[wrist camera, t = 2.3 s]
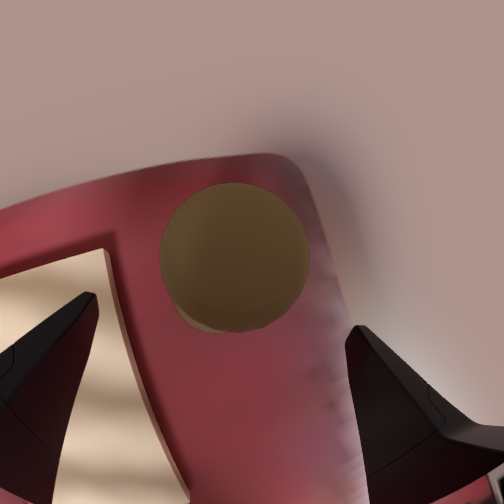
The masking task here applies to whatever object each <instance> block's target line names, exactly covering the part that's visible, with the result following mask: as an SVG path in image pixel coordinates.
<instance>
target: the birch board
mask: <svg viewBox="0 0 504 504" xmlns="http://www.w3.org/2000/svg"><path fill="white" fill-rule="evenodd" d="M85 291H88V292H92V293H95V294H96V295H97V300H98V306H99V319H98V323H97V327H96V331H95V335H94V339H93V343H92V347H91V352H90V355H89V359H88V362H87V365H86V368H85V371H84V373H83V377H82V380H81V383H80V386H79V389H78V392H77V395H76V399H75V402H74V406H73V409H72V413H71V416H70V420H69V424H68V427H67V431H66V435H65V439H64V443H63V448H62V452H61V457H60V459H59V460H60V462H59V467H58V472H57V477H56V482H55V488H54V494H53V501H52V504H188V503H190V492H189V490H188V488H187V486H186V484H185V482H184V480H183V478H182V476H181V474H180V472H179V470H178V468H177V466H176V464H175V462H174V460H173V458H172V455H171V453H170V451H169V449H168V447H167V444H166V442H165V440H164V437H163V435H162V433H161V430H160V428H159V425H158V423H157V420H156V418H155V415H154V413H153V410H152V408H151V405H150V402H149V400H148V397H147V394H146V391H145V388H144V386H143V383H142V380H141V377H140V374H139V371H138V368H137V365H136V361H135V358H134V355H133V352H132V348H131V345H130V341H129V338H128V334H127V331H126V327H125V323H124V319H123V315H122V311H121V307H120V303H119V299H118V295H117V290H116V286H115V281H114V276H113V271H112V266H111V261H110V255H109V253H108V252H107V251H106V250H105V249H103V248H101V249H97V250H94V251H90V252H87V253H83V254H80V255H76V256H73V257H70V258H66V259H63V260H59V261H56V262H53V263H49V264H46V265H43V266H40V267H36V268H33V269H30V270H27V271H24V272H20V273H17V274H14V275H11V276H8V277H5V278H2V279H0V353H1V352H3V351H4V350H5V349H7V348H8V347H9V346H10V345H12V344H14V342H16V341H17V340H18V339H20V338H21V337H22V336H23V335H25V334H26V333H27V332H29V331H30V330H31V329H33V328H34V327H35V326H37V325H38V324H39V323H41V322H42V321H43V320H45V319H46V318H48V317H49V316H50V315H52V314H53V313H54V312H56V311H57V310H59V309H60V308H61V307H63V306H64V305H66V304H67V303H68V302H70V301H71V300H73V299H74V298H75V297H77V296H78V295H80V294H81V293H83V292H85Z"/></svg>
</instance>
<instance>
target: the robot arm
mask: <svg viewBox="0 0 504 504" xmlns="http://www.w3.org/2000/svg"><path fill="white" fill-rule="evenodd" d="M98 319H99V306H98V300H97V295H96V294H95V293H92V292H88V291H85V292H83V293H81V294H80V295H78V296H77V297H75V298H74V299H73V300H71V301H70V302H68V303H67V304H66V305H64V306H63V307H61V308H60V309H59V310H57V311H56V312H54V313H53V314H52V315H50V316H49V317H48V318H46V319H45V320H43V321H42V322H41V323H39V324H38V325H37V326H35V327H34V328H33V329H31V330H30V331H29V332H27V333H26V334H25V335H23V336H22V337H21V338H20V339H18V340H17V341H16V342H14V344H12V345H10V346H9V347H8V348H7V349H5V350H4V351H3V352H1V353H0V504H28V501H29V502H31V503H33V504H52V501H53V494H54V488H55V482H56V477H57V472H58V467H59V462H60V460H59V459H60V457H61V452H62V448H63V443H64V439H65V435H66V431H67V427H68V424H69V420H70V416H71V413H72V409H73V406H74V402H75V399H76V395H77V392H78V389H79V386H80V383H81V380H82V377H83V373H84V371H85V368H86V365H87V362H88V359H89V355H90V352H91V347H92V343H93V339H94V335H95V331H96V327H97V323H98ZM345 351H346V360H347V369H348V378H349V384H350V389H351V394H352V399H353V404H354V409H355V414H356V419H357V424H358V430H359V435H360V441H361V447H362V453H363V459H364V465H365V472H366V477H367V478H366V479H367V486H368V494H369V501H370V504H504V427H503V426H489V425H481V424H478V423H475V422H474V421H472V420H471V419H469V418H468V417H467V416H465V415H464V414H463V413H462V412H460V411H459V410H458V409H457V408H456V407H454V406H453V405H452V404H450V403H449V402H448V401H447V400H446V399H445V398H443V397H442V396H441V395H440V394H439V393H438V392H437V391H436V390H435V389H433V388H432V387H431V386H430V385H429V384H427V382H426V381H425V380H424V379H423V378H422V377H420V375H419V374H418V373H416V372H415V371H414V370H413V369H412V368H411V367H410V366H409V365H408V364H407V363H406V362H405V361H403V360H402V359H401V358H400V357H399V356H398V355H397V354H396V353H394V351H393V350H392V349H390V348H389V347H388V346H387V345H386V344H385V343H384V342H383V341H382V340H381V339H380V338H379V337H377V336H376V335H375V334H374V333H373V332H372V331H371V330H370V329H369V328H367V327H366V326H364V325H356V326H354V327H353V329H352V331H351V332H350V334H349V336H348V337H347V339H346V342H345Z"/></svg>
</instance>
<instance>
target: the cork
mask: <svg viewBox="0 0 504 504" xmlns="http://www.w3.org/2000/svg"><path fill="white" fill-rule="evenodd" d="M309 258H310V249H309V245H308V241H307V237H306V234H305V230H304V228H303V226H302V225H301V223H300V221H299V220H298V218H297V216H296V215H295V213H294V211H293V210H292V209H291V208H290V207H289V206H288V205H286V204H285V203H284V202H283V201H282V200H281V199H280V198H279V197H278V196H276V195H274V194H272V193H270V192H268V191H266V190H264V189H262V188H260V187H258V186H254V185H249V184H243V183H237V182H233V183H224V184H217V185H212V186H210V187H207V188H205V189H203V190H201V191H199V192H196V193H194V194H192V195H191V196H190V197H189V198H188V199H187V200H186V201H185V202H184V203H183V204H182V205H180V206H179V207H178V208H177V209H176V211H175V212H174V214H173V216H172V218H171V220H170V221H169V223H168V225H167V227H166V229H165V230H164V232H163V236H162V241H161V247H160V253H159V260H160V267H161V273H162V280H163V282H164V284H165V286H166V288H167V290H168V292H169V293H170V295H171V297H172V302H173V304H174V306H175V308H176V310H177V312H178V313H179V315H180V316H181V317H182V318H183V319H184V320H185V321H186V322H187V323H188V324H189V325H190V326H192V327H194V328H197V329H199V330H201V331H203V332H209V333H218V334H219V333H224V332H238V333H241V332H245V331H250V330H254V329H259V328H263V327H265V326H267V325H268V324H270V323H272V322H273V321H275V320H276V319H278V318H280V317H281V316H283V315H284V314H285V313H286V312H287V310H288V309H289V308H290V307H291V306H292V304H293V303H294V302H295V301H296V300H297V298H298V297H299V296H300V294H301V292H302V289H303V286H304V284H305V281H306V279H307V276H308V273H309Z"/></svg>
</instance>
